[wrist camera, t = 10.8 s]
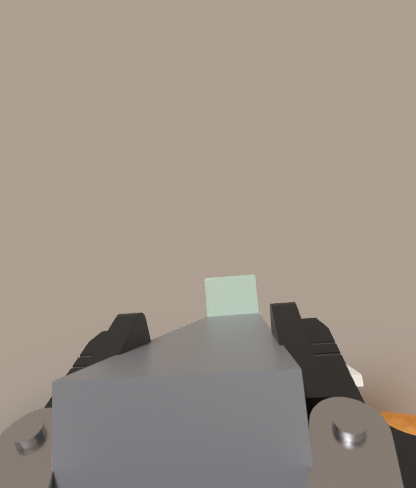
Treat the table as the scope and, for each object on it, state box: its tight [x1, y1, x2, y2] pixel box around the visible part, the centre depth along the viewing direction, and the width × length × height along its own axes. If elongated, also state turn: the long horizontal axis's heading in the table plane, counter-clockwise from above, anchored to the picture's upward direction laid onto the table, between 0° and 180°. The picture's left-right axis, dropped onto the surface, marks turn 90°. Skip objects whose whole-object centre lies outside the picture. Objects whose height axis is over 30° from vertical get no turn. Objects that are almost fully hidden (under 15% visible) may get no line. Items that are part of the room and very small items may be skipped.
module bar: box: [51, 275, 313, 488], centre depth 17 cm, size 4×24×6 cm, turn 173°
